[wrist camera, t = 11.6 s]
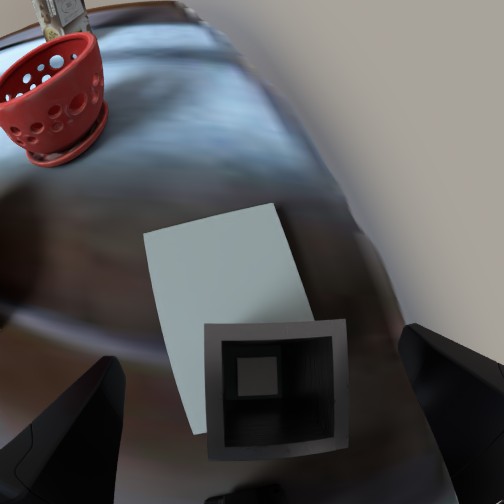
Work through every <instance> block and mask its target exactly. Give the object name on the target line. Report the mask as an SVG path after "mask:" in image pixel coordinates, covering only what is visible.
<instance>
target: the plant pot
mask: <svg viewBox="0 0 504 504" xmlns="http://www.w3.org/2000/svg"><path fill="white" fill-rule="evenodd" d="M73 54H75V55H77V58H76V59H74V58H73ZM55 55H60V56H61V57H63V59H64V64H63V66H62V67H60V68H53V67H51V66H50V59H51V58H52V57H53V56H55ZM40 64H44V69H43V70H42V71H38V70H37V68H38V66H39V65H40ZM26 74H30V75H31V79H30V81H29V82H28V83H24V82H23V77H24V76H25V75H26ZM45 75H50V76H51V78H50V79H48V80H47V81H45V82H44V83H42V78H43V77H44V76H45ZM32 84H35V85H36V87H35V88H34V89H32V90H30V86H31V85H32ZM19 93H23V95H21V96H19V97H17V98H15V97H16V96H17V94H19ZM103 94H104V76H103V66H102V60H101V55H100V50H99V46H98V42H97V39H96V37H95V36H94V35H93V34H91V33H89V32H77V33H71V34H67V35H64V36H61V37H58V38H55V39H53V40H50V41H48V42H46V43H44V44H42V45H40V46H39V47H37V48H35V49H34V50H32V51H30V52H29V53H27V54H26V55H25V56H23V57H22V58H21V59H19V60H18V61H17V62H15V63H14V64H13V65H12V66H11V67H10V68H9V69H8V70H6V71H5V73H4V74H3V75H2V76H1V77H0V126H1V127H2V129H3V130H4V131H5V132H6V134H7V135H8V136H9V137H10V139H11V140H12V141H13V142H15V143H16V144H17V145H19V146H20V147H22V148H24V149H26V154H27V157H28V159H29V160H30V161H31V162H32V163H33V164H35V165H37V166H40V167H54V166H58V165H61V164H64V163H66V162H68V161H70V160H72V159H74V158H75V157H77V156H78V155H80V154H81V153H82V152H84V151H85V150H86V149H87V148H88V147H89V146H90V145H91V144H92V143H93V142H94V141H95V140H96V139H97V138H98V136H99V135H100V133H101V132H102V130H103V128H104V126H105V124H106V121H107V118H108V106H107V104H106V102H105V101H104V100H103ZM6 95H8V96H9V101H6Z"/></svg>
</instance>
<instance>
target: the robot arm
mask: <svg viewBox="0 0 504 504" xmlns="http://www.w3.org/2000/svg"><path fill="white" fill-rule="evenodd" d="M398 351H399V354H400V356H401V359H402V361H403V364H404V367H405V369H406V372H407V375H408V378H409V380H410V383H411V385H412V388H413V390H414V392H415V394H416V396H417V399H418V401H419V403H420V405H421V407H422V409H423V412H424V414H425V416H426V418H427V420H428V423H429V425H430V427H431V430H432V432H433V434H434V437H435V439H436V442H437V444H438V446H439V449H440V451H441V454H442V456H443V459H444V462H445V464H446V467H447V469H448V472H449V475H450V478H451V481H452V484H453V487H454V489H455V492H456V495H457V498H458V502H459V504H496V503H498V502H499V501H501V500H502V501H501V502H500V503H499V504H504V365H502V364H500V363H497V362H496V361H494V360H491V359H489V358H487V357H485V356H483V355H481V354H479V353H477V352H475V351H473V350H471V349H469V348H467V347H464V346H463V345H460V344H458V343H456V342H454V341H452V340H450V339H448V338H445V337H444V336H442V335H440V334H438V333H435V332H433V331H431V330H429V329H427V328H425V327H423V326H421V325H419V324H416V323H413V324H409V325H406V326H405V327H404V328H403V331H402V334H401V337H400V340H399V343H398ZM125 388H126V376H125V373H124V371H123V369H122V367H121V365H120V362H119V360H118V358H117V357H115V356H103V357H102V358H101V359H99V360H98V361H97V362H96V363H95V364H94V365H93V366H92V367H91V368H90V369H88V370H87V371H86V372H85V373H84V374H83V375H82V376H81V377H80V378H79V379H77V380H76V381H75V382H74V383H73V384H72V385H71V386H70V387H69V388H68V389H67V390H65V391H64V392H63V393H62V394H61V395H60V396H59V397H58V398H57V399H56V400H55V401H54V402H53V403H51V404H50V405H49V406H48V407H47V408H46V409H45V410H44V411H43V412H42V413H41V414H40V415H39V416H38V417H37V418H35V419H34V420H33V421H32V424H31V423H30V424H29V425H28V426H27V427H26V428H25V429H24V430H23V431H22V432H21V433H19V434H18V435H17V436H16V437H15V438H14V439H13V440H12V441H10V442H9V443H8V444H7V445H5V446H4V447H3V448H2V449H0V504H114V491H115V481H116V471H117V463H118V455H119V448H120V441H121V434H122V428H123V419H124V402H125ZM275 488H278V490H276V491H273V489H275ZM209 503H211V504H288V503H287V500H286V498H285V495H284V493H283V490H282V488H281V486H280V485H279V484H273V485H270V486H266V487H262V488H259V489H250V490H246V491H241V492H237V493H232V494H227V495H225V496H224V497H218V498H212V499H207V500H205V502H204V504H209Z"/></svg>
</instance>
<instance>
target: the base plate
mask: <svg viewBox="0 0 504 504" xmlns="http://www.w3.org/2000/svg"><path fill="white" fill-rule="evenodd" d="M143 235H144V242H145V248H146V254H147V260H148V266H149V271H150V277H151V282H152V287H153V292H154V297H155V301H156V306H157V311H158V315H159V319H160V324H161V328H162V332H163V336H164V340H165V344H166V348H167V351H168V355H169V359H170V362H171V366H172V369H173V373H174V376H175V380H176V383H177V386H178V390H179V393H180V396H181V399H182V402H183V405H184V408H185V411H186V414H187V417H188V420H189V423H190V426H191V428H192V431H193V434H194V435H195V434H200V433H205V432H207V428H206V406H205V372H204V323H217V324H234V323H282V322H304V321H315V320H314V317H313V314H312V311H311V308H310V305H309V302H308V299H307V297H306V294H305V291H304V288H303V285H302V282H301V279H300V276H299V273H298V270H297V268H296V265H295V262H294V259H293V256H292V253H291V251H290V248H289V245H288V242H287V240H286V237H285V234H284V231H283V229H282V226H281V223H280V220H279V218H278V215H277V212H276V210H275V207H274V204H273V203H270V204H265V205H260V206H256V207H251V208H247V209H242V210H238V211H233V212H229V213H225V214H221V215H216V216H212V217H208V218H204V219H200V220H196V221H192V222H188V223H184V224H180V225H176V226H172V227H168V228H164V229H160V230H156V231H153V232H149V233H145V234H143ZM225 381H226V400H247V399H269V398H282V373H281V345H256V346H225Z"/></svg>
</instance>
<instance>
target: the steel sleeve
mask: <svg viewBox="0 0 504 504" xmlns="http://www.w3.org/2000/svg"><path fill="white" fill-rule="evenodd" d="M256 345H281V373H282V398H269V399H247V400H226V381H225V346H256ZM204 372H205V406H206V428H207V446H208V461H251V460H267V459H279V458H288V457H297V456H304V455H311V454H317V453H323V452H328V451H334V450H339V449H343V448H348V443H349V371H348V348H347V332H346V319H336V320H322V321H304V322H282V323H234V324H217V323H204Z"/></svg>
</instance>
